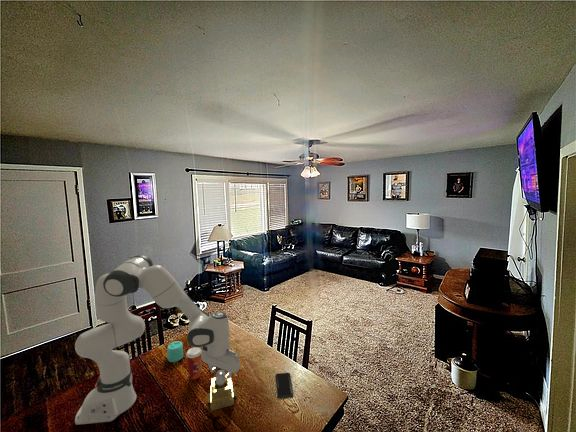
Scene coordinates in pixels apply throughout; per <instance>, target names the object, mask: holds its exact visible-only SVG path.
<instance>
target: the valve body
mask: <svg viewBox="0 0 576 432" xmlns="http://www.w3.org/2000/svg"><path fill="white" fill-rule="evenodd" d="M210 382H211V385H210V393H207V394H206V398H207V399H206V400H207V401H206V402H207V403H206V404H210V411H215V410H218V409H222V408H226V407H231V406H234V405H235V403H234V401H235V400H234V399H235V398H234V397H237V387H236V386H234V387H233V381H232V377H231V378H230V379H227V378H226V387H224V388H219V389H216V377H213V378H211V381H210Z"/></svg>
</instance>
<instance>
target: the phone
mask: <svg viewBox="0 0 576 432" xmlns="http://www.w3.org/2000/svg"><path fill="white" fill-rule="evenodd" d="M274 376H275V377H274V378H275V387H276V398H278V399H283V398H284V399H285V398H292V397H294V390H293V389H294V388H293V385H292V378H291V373H290V372H281V373H279V372H278V373H276V374H275V375H274Z"/></svg>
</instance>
